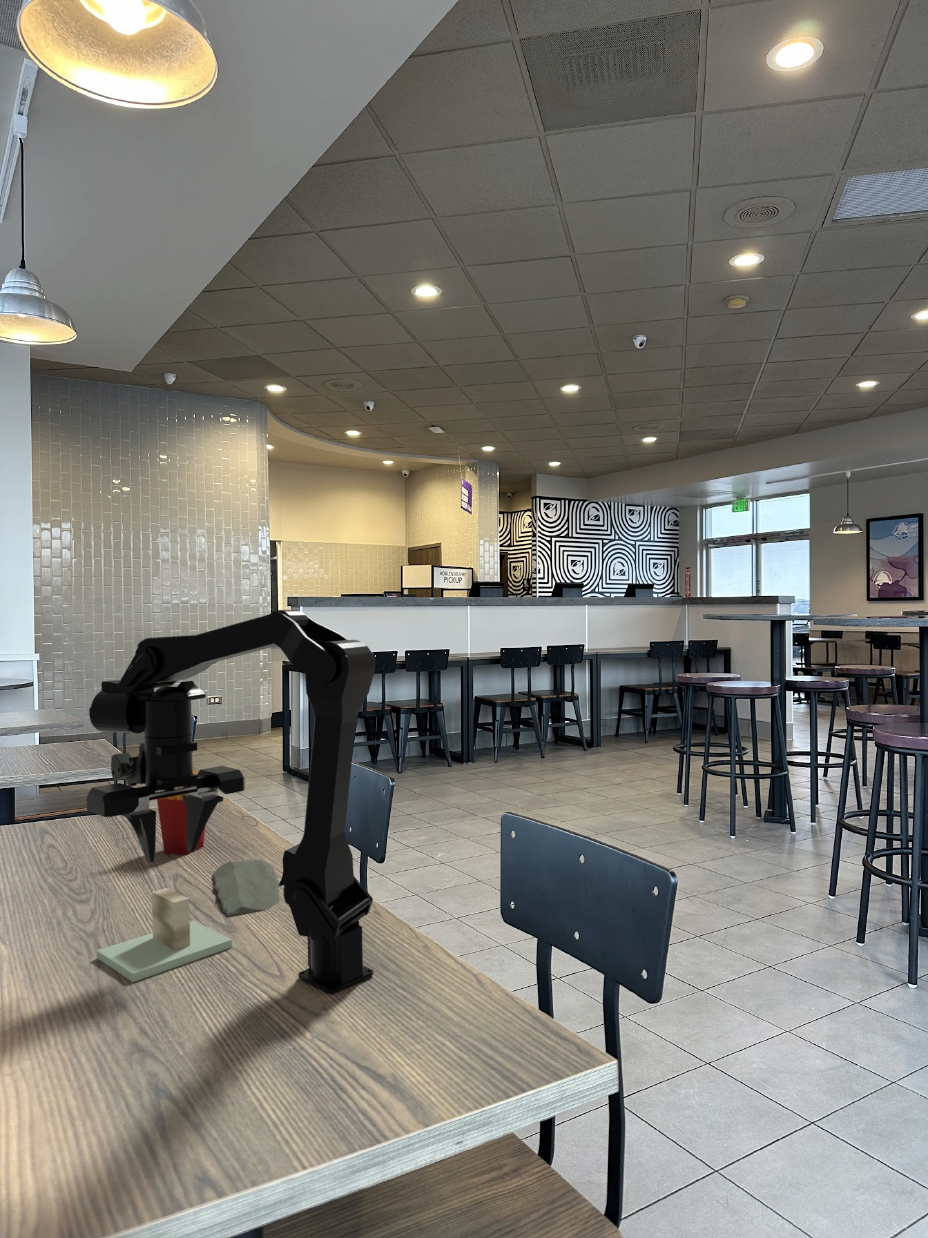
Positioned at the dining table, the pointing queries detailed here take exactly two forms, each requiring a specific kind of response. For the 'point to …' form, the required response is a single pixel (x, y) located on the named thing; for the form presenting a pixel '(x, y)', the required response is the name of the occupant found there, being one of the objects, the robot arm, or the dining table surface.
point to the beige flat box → (171, 918)
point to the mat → (161, 953)
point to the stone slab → (246, 887)
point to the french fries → (175, 824)
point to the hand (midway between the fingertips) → (170, 857)
